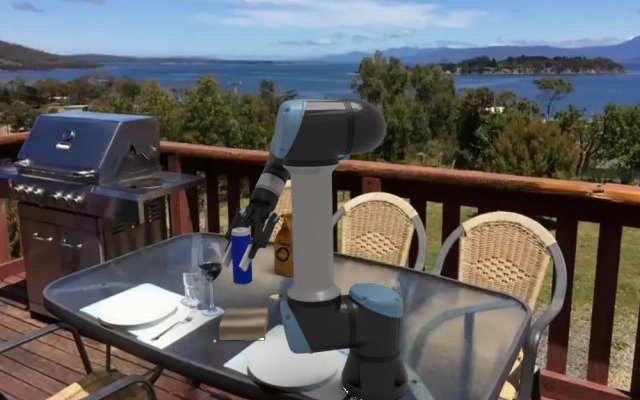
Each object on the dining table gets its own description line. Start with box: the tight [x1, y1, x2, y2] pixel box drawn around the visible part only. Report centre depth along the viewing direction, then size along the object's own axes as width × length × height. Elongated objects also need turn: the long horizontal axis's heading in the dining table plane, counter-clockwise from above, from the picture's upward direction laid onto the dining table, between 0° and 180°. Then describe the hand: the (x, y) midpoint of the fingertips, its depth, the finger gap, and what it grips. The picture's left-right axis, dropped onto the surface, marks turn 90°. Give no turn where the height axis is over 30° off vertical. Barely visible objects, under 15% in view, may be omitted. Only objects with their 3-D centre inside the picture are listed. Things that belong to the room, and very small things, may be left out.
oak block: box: [218, 307, 269, 341], centre depth 157 cm, size 12×12×4 cm
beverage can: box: [231, 227, 253, 287], centre depth 153 cm, size 5×5×15 cm
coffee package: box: [273, 212, 294, 278], centre depth 200 cm, size 10×12×22 cm
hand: (233, 266), depth 150 cm, fingers closed on beverage can, 5 cm apart
